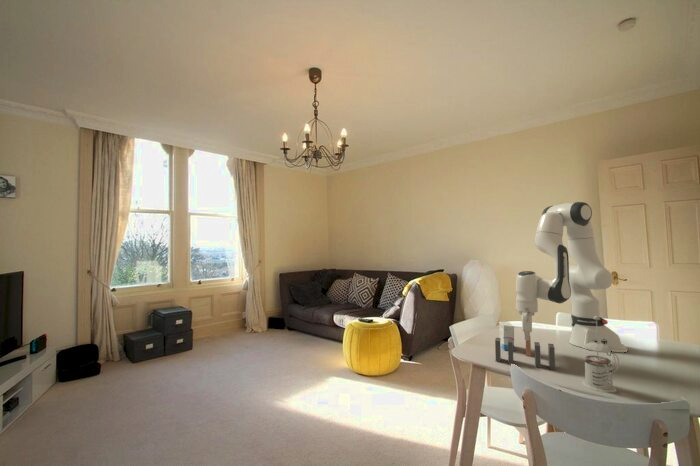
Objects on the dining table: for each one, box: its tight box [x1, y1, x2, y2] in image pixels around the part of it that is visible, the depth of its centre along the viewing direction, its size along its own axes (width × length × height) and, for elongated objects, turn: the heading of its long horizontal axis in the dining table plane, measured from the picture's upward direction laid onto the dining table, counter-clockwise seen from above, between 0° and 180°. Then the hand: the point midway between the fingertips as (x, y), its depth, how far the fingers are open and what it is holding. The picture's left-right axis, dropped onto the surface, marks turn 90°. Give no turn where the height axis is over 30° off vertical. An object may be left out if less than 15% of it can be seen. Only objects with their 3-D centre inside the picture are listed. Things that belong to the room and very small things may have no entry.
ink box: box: [498, 321, 515, 352], centre depth 157 cm, size 9×5×12 cm, turn 168°
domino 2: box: [507, 339, 514, 364], centre depth 139 cm, size 2×5×9 cm, turn 153°
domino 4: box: [533, 341, 542, 369], centre depth 134 cm, size 2×5×9 cm, turn 153°
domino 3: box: [525, 335, 532, 357], centre depth 147 cm, size 2×5×9 cm, turn 153°
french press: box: [581, 316, 620, 393], centre depth 115 cm, size 10×12×25 cm
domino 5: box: [547, 343, 556, 371], centre depth 132 cm, size 2×5×9 cm, turn 153°
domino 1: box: [494, 337, 502, 363], centre depth 141 cm, size 2×5×9 cm, turn 153°
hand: (526, 337), depth 147 cm, fingers open, 8 cm apart
